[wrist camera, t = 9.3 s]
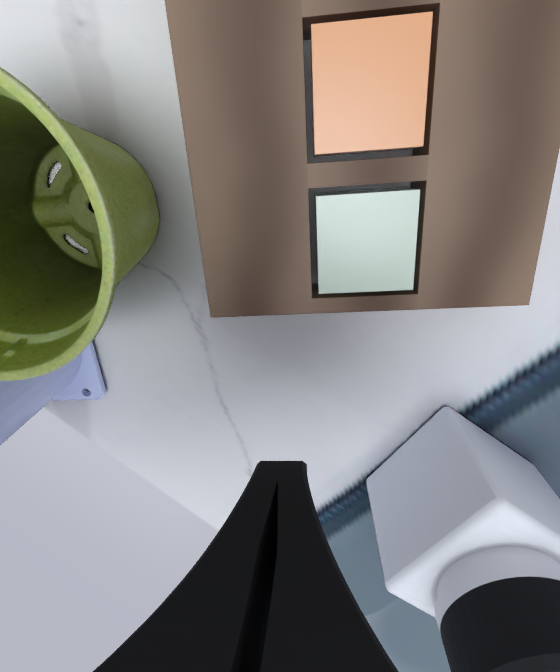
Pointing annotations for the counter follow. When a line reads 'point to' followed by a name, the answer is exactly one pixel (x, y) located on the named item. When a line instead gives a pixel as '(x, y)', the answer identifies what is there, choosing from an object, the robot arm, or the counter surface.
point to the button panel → (420, 169)
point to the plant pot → (62, 232)
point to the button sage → (366, 239)
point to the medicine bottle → (472, 545)
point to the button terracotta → (370, 83)
